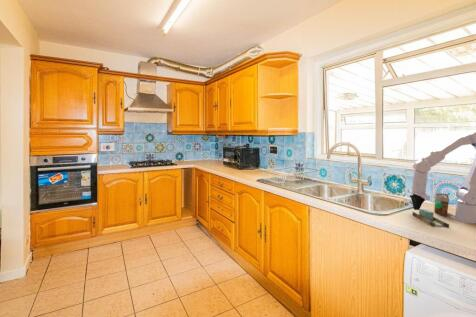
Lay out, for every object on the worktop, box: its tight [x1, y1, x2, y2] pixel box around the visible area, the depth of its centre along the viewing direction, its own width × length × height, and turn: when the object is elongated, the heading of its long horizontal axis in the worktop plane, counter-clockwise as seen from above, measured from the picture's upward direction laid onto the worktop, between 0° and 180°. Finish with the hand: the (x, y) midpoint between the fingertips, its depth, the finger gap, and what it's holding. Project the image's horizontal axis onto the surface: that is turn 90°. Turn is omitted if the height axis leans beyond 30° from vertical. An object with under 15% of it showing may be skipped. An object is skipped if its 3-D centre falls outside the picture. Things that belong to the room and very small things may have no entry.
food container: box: [433, 192, 450, 217], centre depth 130 cm, size 12×6×10 cm, turn 141°
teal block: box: [418, 208, 435, 220], centre depth 120 cm, size 4×4×4 cm
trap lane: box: [411, 211, 450, 229], centre depth 118 cm, size 6×16×2 cm, turn 175°
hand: (416, 209), depth 128 cm, fingers closed
